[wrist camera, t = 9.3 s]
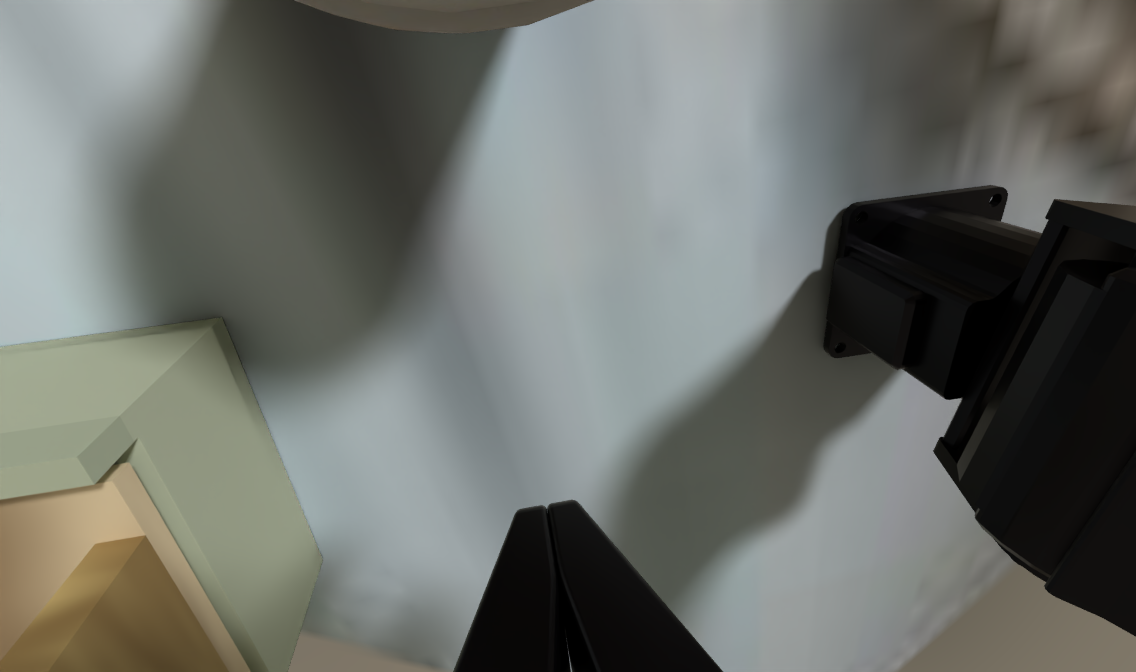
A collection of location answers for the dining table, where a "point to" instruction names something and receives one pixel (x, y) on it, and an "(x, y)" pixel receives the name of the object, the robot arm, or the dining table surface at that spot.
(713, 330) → the dining table surface
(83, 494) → the lid
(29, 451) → the box
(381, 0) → the disposable coffee cup
